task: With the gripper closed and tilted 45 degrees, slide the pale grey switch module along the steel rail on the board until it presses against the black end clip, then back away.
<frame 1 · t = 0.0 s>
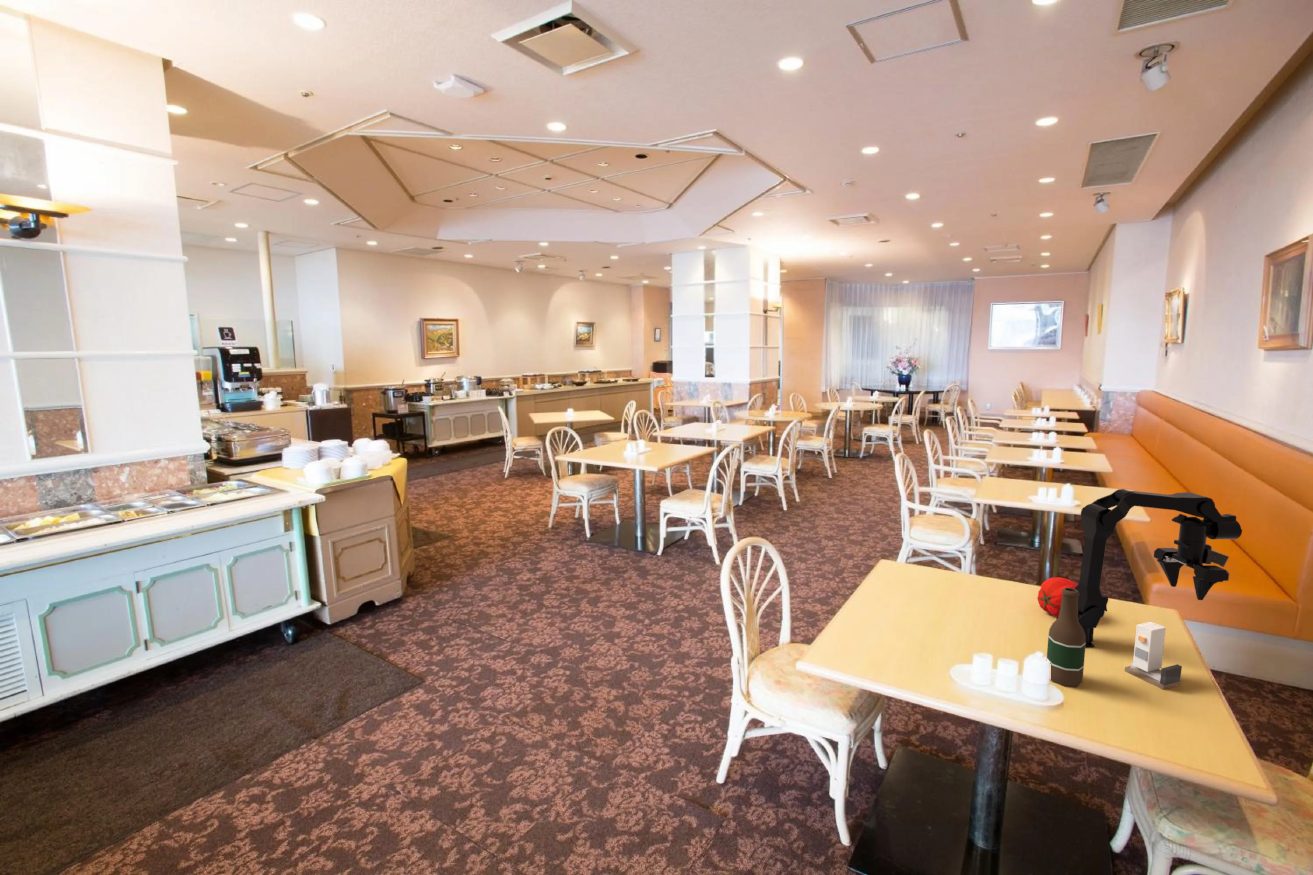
hand: (1186, 593, 168), 15 cm above the table, tool pointing down, fingers open, 9 cm apart
rail board: (1151, 677, 153), on the table
beer bottle: (1063, 680, 153), on the table
tomato: (1060, 615, 190), on the table
switch module: (1148, 646, 153), point 8 cm above the table, slide at 0.0 cm
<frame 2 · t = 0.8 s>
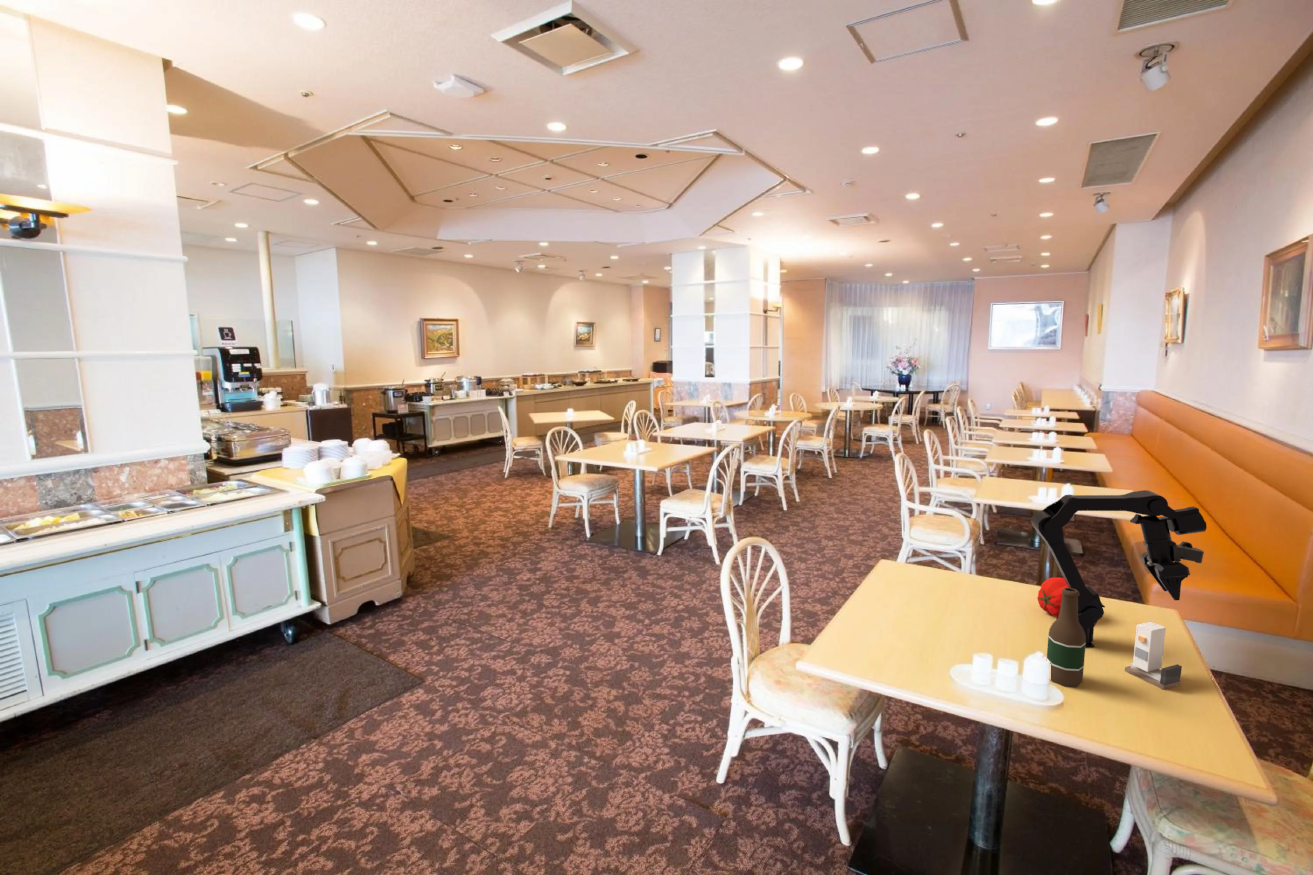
hand: (1171, 595, 161), 17 cm above the table, tool tilted 15°, fingers open, 9 cm apart
nothing on the table moved.
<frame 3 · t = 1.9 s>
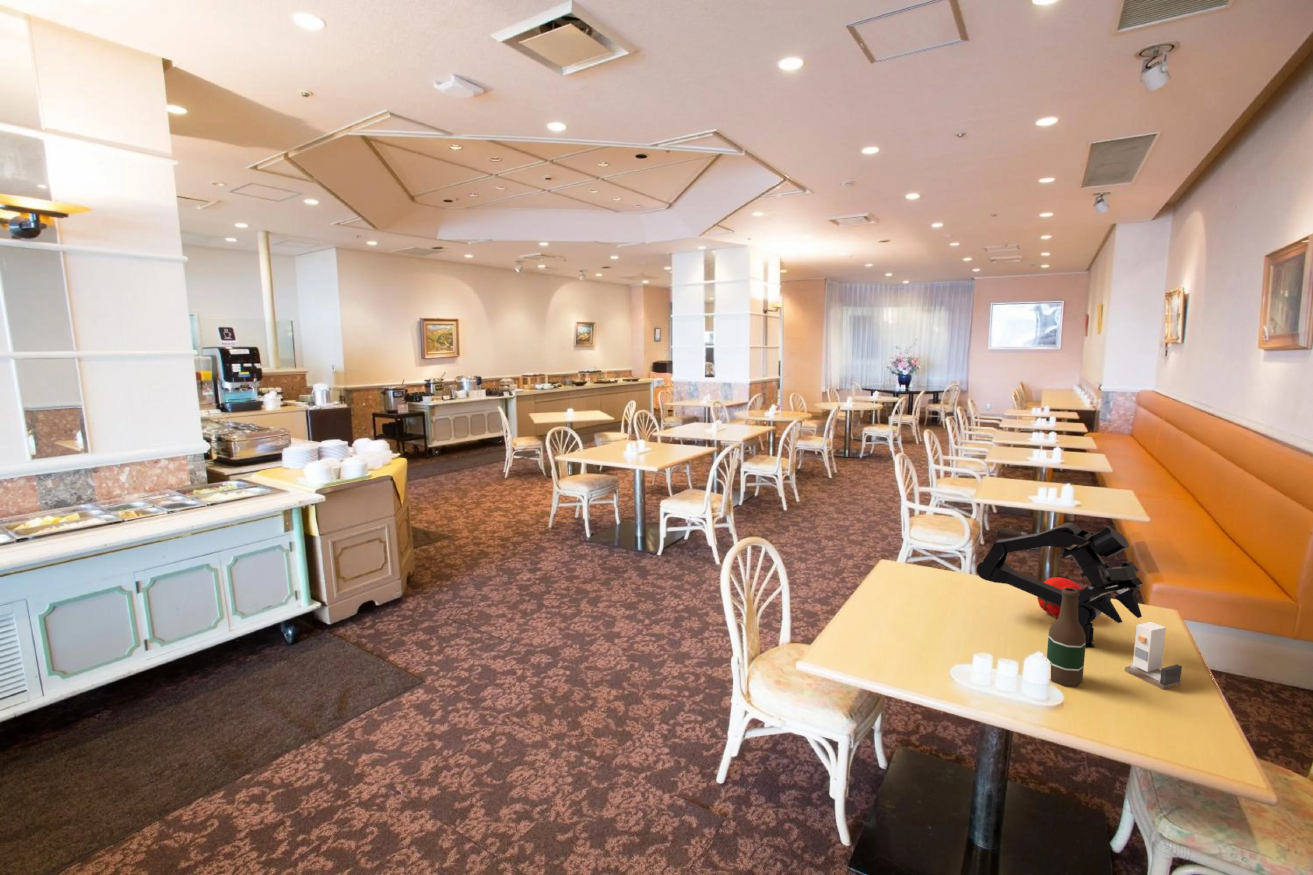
hand: (1130, 619, 158), 12 cm above the table, tool tilted 45°, fingers open, 7 cm apart
nothing on the table moved.
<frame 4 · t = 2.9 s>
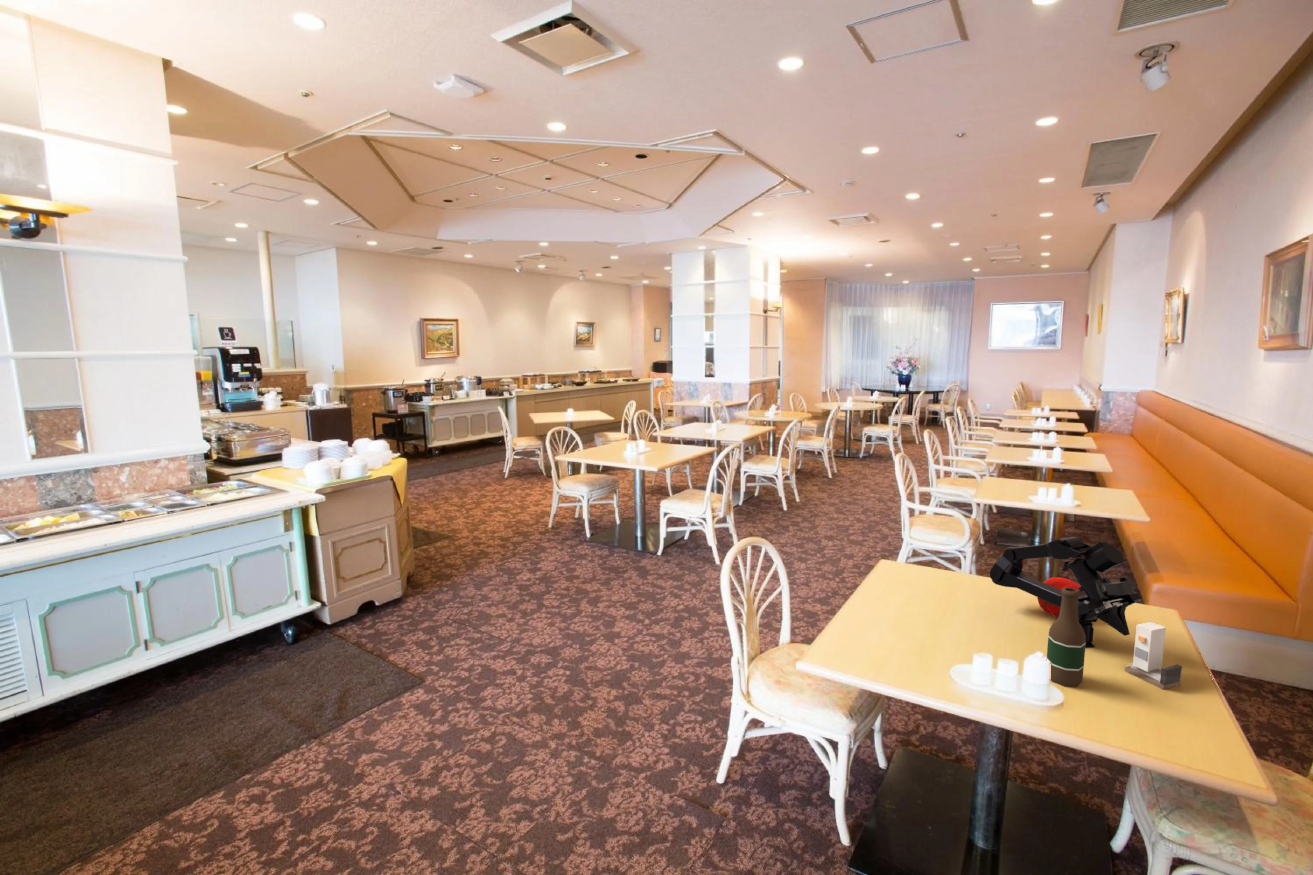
hand: (1127, 634, 158), 8 cm above the table, tool tilted 45°, fingers closed
nothing on the table moved.
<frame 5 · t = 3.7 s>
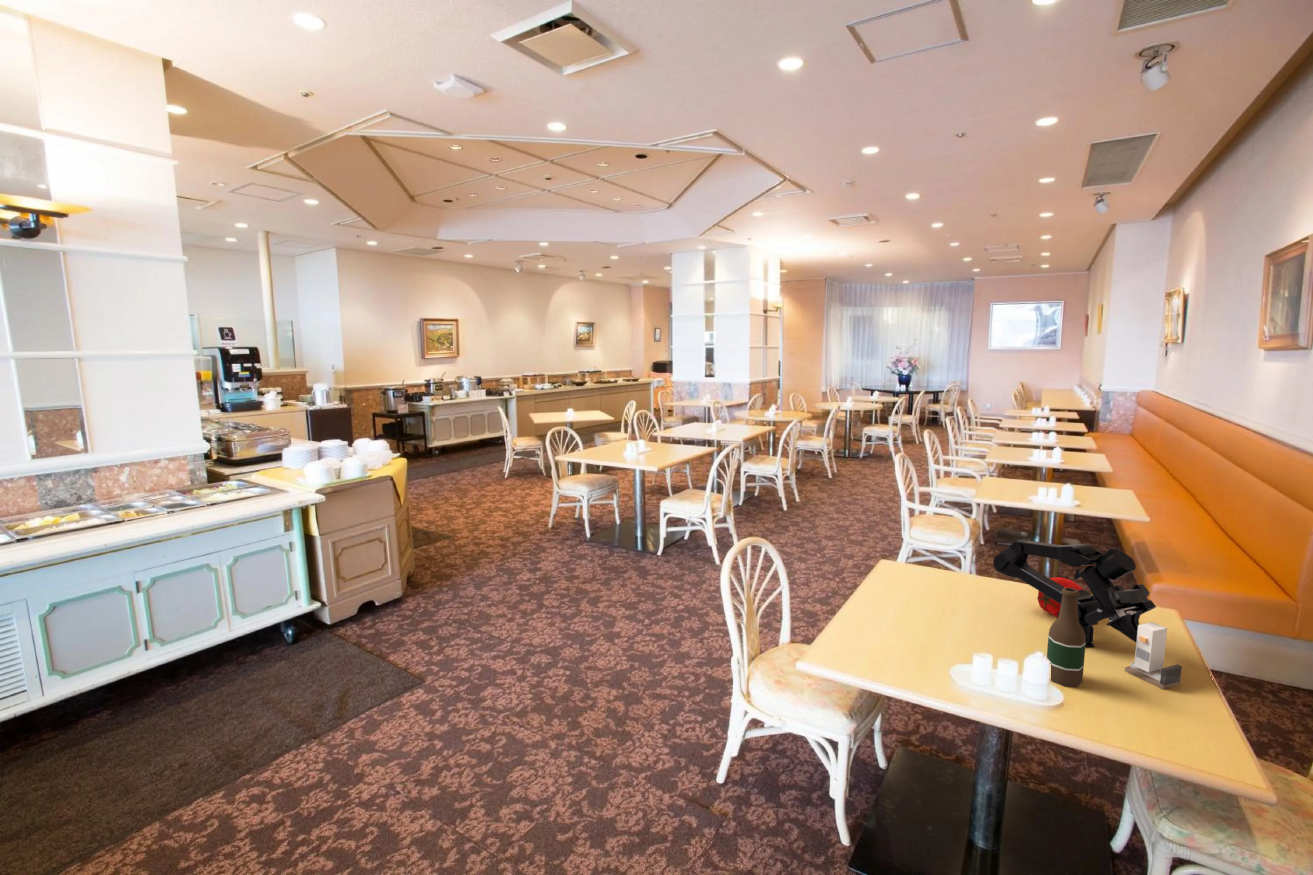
hand: (1141, 643, 155), 8 cm above the table, tool tilted 45°, fingers closed, pressing on switch module
switch module: (1149, 647, 153), point 8 cm above the table, slide at 0.3 cm, touching gripper
everything else where it was.
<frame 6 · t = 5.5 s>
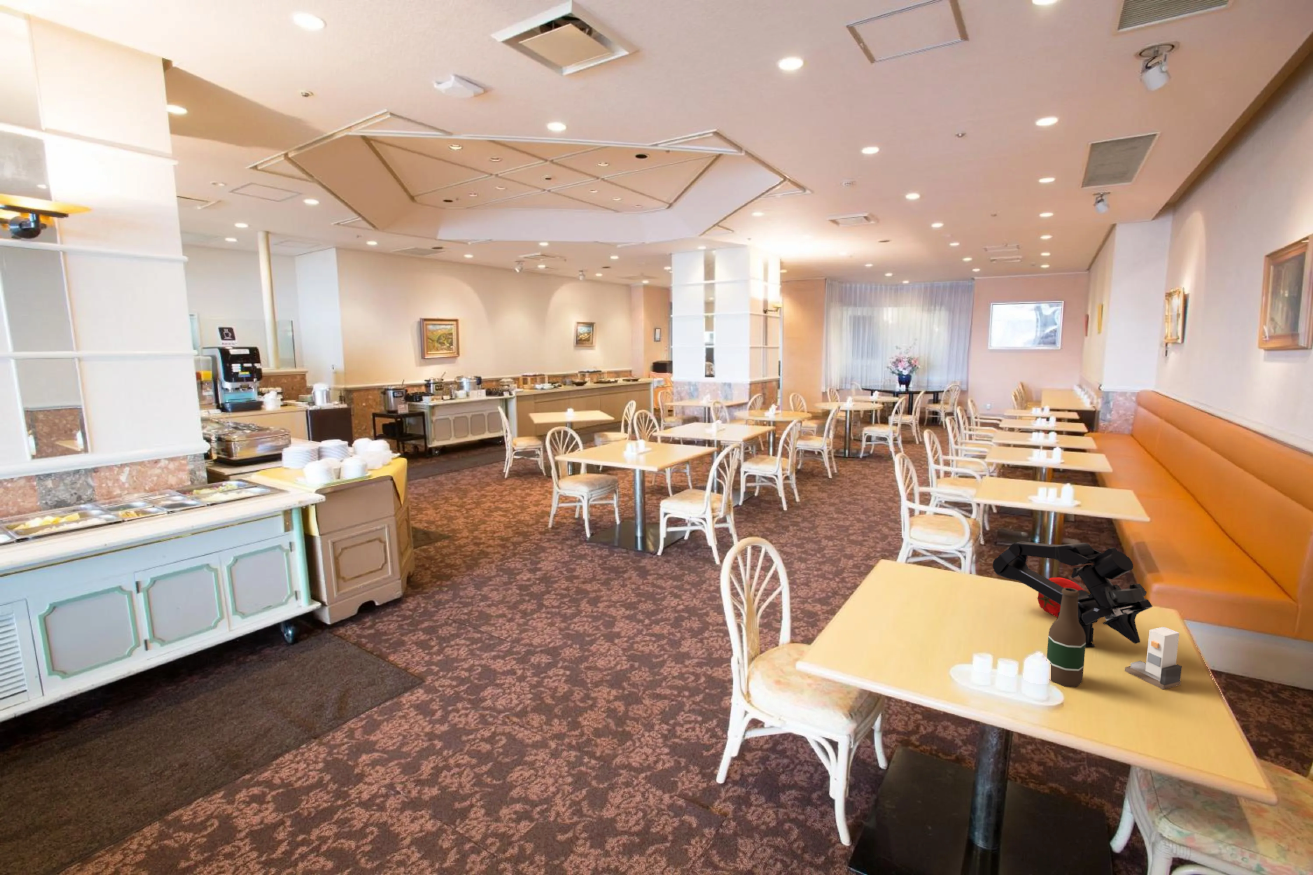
hand: (1137, 643, 156), 7 cm above the table, tool tilted 45°, fingers closed
switch module: (1161, 652, 150), point 8 cm above the table, slide at 3.0 cm
everything else where it was.
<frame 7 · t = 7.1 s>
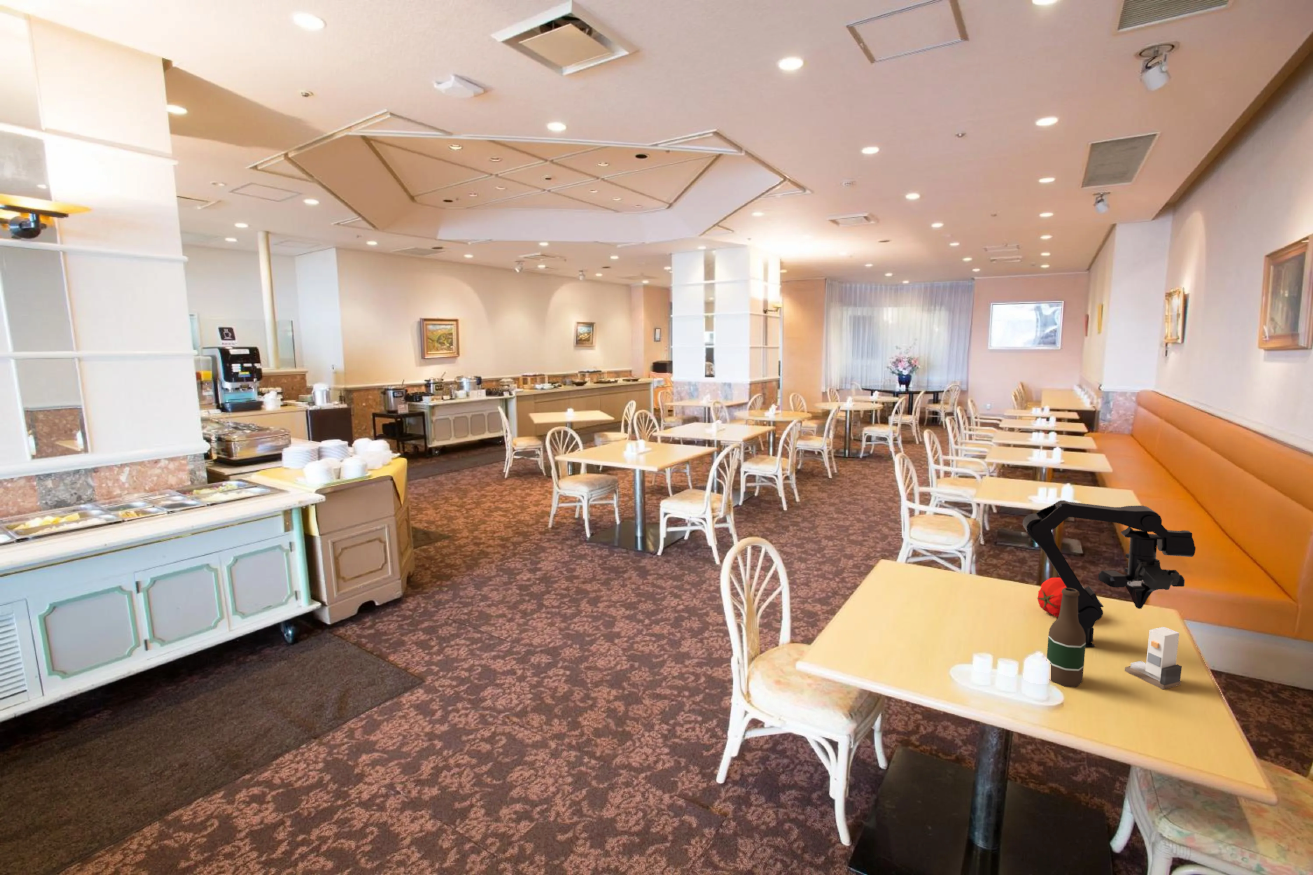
hand: (1138, 608, 165), 12 cm above the table, tool pointing down, fingers closed
nothing on the table moved.
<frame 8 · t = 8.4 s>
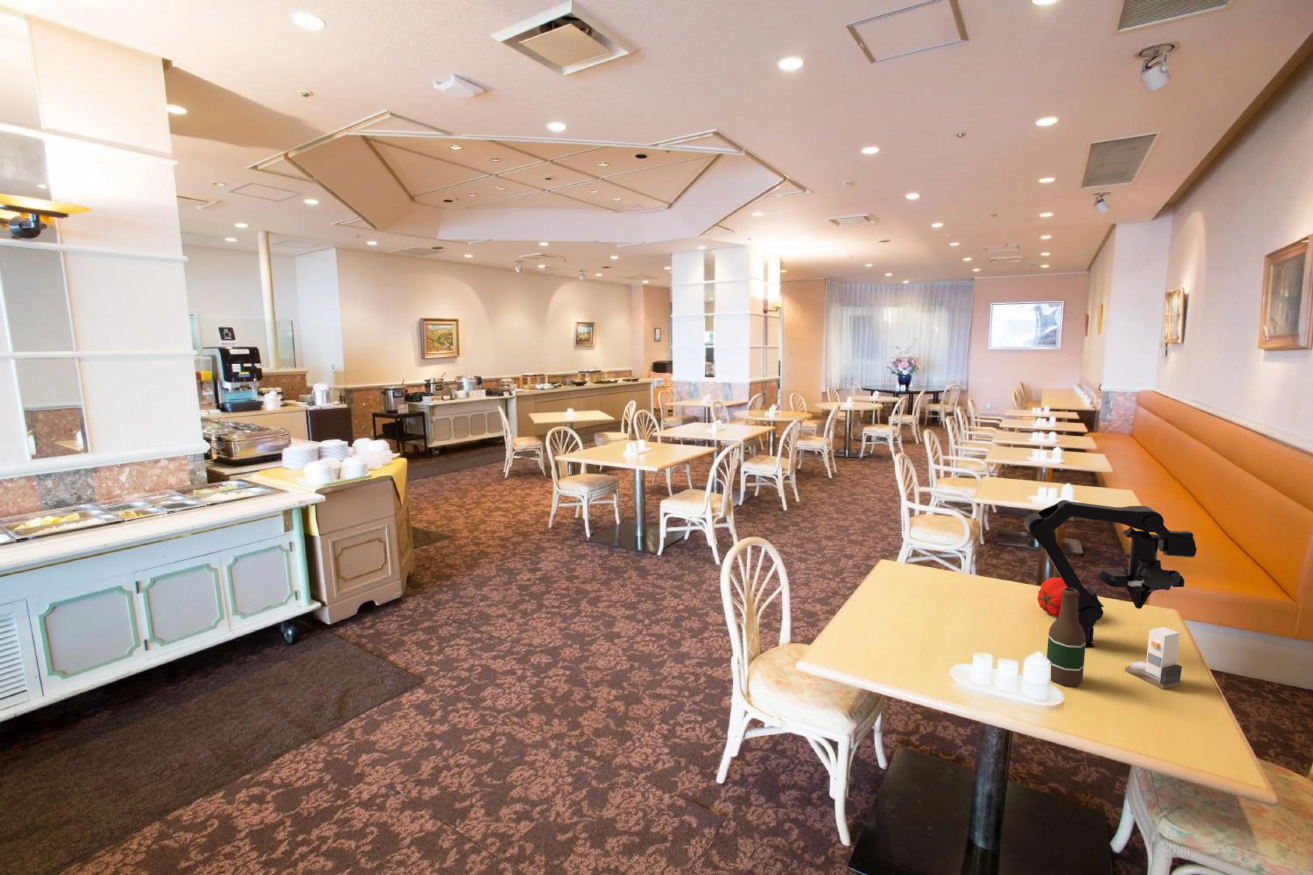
hand: (1138, 608, 166), 12 cm above the table, tool pointing down, fingers closed
nothing on the table moved.
at the end: switch module slide at 3.0 cm; switch module moved 3.0 cm from its start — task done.
